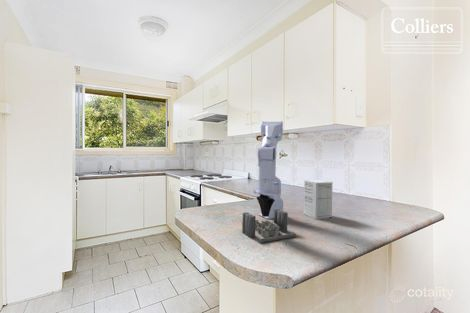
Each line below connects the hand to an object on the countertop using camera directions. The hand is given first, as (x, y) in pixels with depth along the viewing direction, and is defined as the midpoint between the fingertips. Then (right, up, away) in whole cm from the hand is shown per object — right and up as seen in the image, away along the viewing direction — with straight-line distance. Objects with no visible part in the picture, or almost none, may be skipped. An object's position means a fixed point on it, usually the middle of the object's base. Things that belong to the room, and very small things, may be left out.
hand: (265, 215), depth 82 cm
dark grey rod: (+3, -6, -7) cm, 10 cm away
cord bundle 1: (-6, -6, -3) cm, 9 cm away
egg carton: (0, -6, 0) cm, 6 cm away
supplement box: (+28, -7, +24) cm, 38 cm away
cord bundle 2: (+6, -6, +3) cm, 9 cm away
